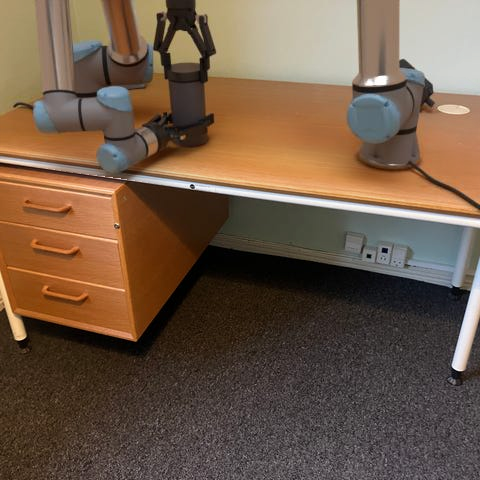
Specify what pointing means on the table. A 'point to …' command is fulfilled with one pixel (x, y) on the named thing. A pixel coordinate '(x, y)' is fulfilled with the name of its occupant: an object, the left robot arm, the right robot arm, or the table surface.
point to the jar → (187, 107)
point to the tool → (426, 90)
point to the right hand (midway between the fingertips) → (186, 80)
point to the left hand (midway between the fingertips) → (197, 115)
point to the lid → (183, 71)
